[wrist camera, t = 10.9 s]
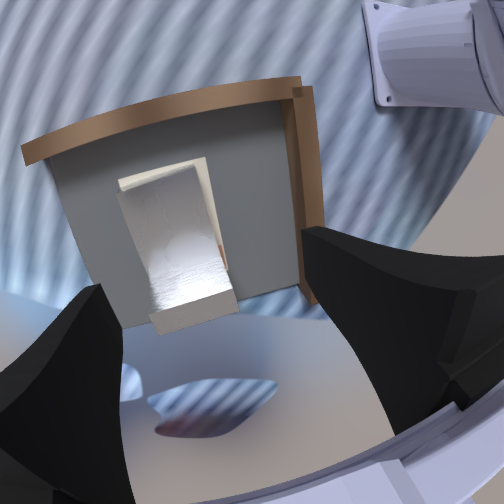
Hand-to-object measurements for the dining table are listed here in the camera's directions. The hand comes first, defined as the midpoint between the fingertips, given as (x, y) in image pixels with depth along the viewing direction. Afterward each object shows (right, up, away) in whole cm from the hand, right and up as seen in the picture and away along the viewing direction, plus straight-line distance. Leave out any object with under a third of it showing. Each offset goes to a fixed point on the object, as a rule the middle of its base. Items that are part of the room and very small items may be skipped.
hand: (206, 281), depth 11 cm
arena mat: (-3, +3, +9) cm, 9 cm away
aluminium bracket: (-3, +2, +8) cm, 9 cm away
